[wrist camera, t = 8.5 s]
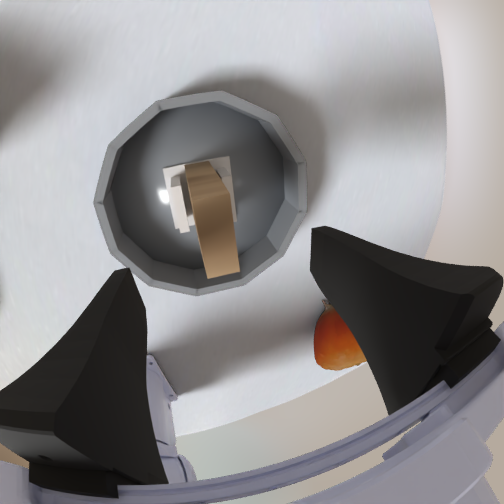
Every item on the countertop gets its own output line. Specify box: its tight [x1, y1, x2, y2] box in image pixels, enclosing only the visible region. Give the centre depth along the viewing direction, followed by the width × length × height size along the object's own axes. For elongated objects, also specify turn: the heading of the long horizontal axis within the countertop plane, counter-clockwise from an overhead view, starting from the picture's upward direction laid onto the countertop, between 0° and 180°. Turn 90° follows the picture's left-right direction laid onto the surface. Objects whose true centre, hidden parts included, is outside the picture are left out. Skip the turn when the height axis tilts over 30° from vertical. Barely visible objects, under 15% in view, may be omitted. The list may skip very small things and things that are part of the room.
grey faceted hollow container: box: [93, 90, 307, 296], centre depth 17 cm, size 13×13×3 cm
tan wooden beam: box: [184, 161, 240, 279], centre depth 15 cm, size 4×2×7 cm, turn 4°
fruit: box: [314, 300, 367, 371], centre depth 27 cm, size 8×8×8 cm
